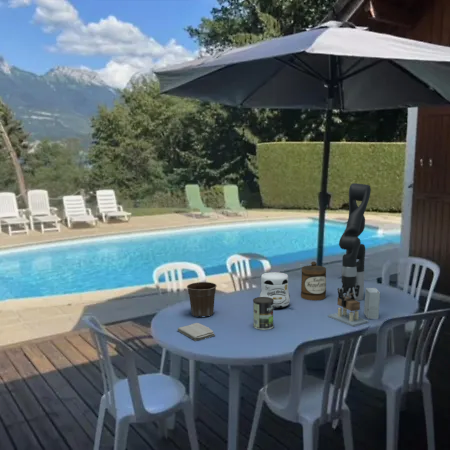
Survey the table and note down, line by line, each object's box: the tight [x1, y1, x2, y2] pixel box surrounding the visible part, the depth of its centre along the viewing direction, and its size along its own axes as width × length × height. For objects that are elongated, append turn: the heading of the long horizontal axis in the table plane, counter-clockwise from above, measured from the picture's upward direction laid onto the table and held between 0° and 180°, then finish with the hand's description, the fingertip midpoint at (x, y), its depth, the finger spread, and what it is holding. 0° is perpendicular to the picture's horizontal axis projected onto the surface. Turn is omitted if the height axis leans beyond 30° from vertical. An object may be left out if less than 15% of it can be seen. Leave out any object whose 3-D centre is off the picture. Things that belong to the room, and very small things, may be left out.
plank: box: [337, 296, 361, 312], centre depth 257 cm, size 12×5×4 cm, turn 23°
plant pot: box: [186, 281, 218, 317], centre depth 269 cm, size 16×16×16 cm
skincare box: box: [363, 287, 381, 320], centre depth 261 cm, size 8×6×15 cm
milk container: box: [259, 271, 291, 309], centre depth 282 cm, size 17×17×18 cm
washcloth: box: [177, 322, 216, 342], centre depth 241 cm, size 12×18×3 cm, turn 36°
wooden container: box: [300, 261, 327, 301], centre depth 297 cm, size 15×15×22 cm
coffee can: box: [252, 296, 274, 331], centre depth 249 cm, size 10×10×14 cm
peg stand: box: [327, 307, 369, 327], centre depth 258 cm, size 18×11×6 cm, turn 31°
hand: (348, 305), depth 257 cm, fingers closed on plank, 5 cm apart
